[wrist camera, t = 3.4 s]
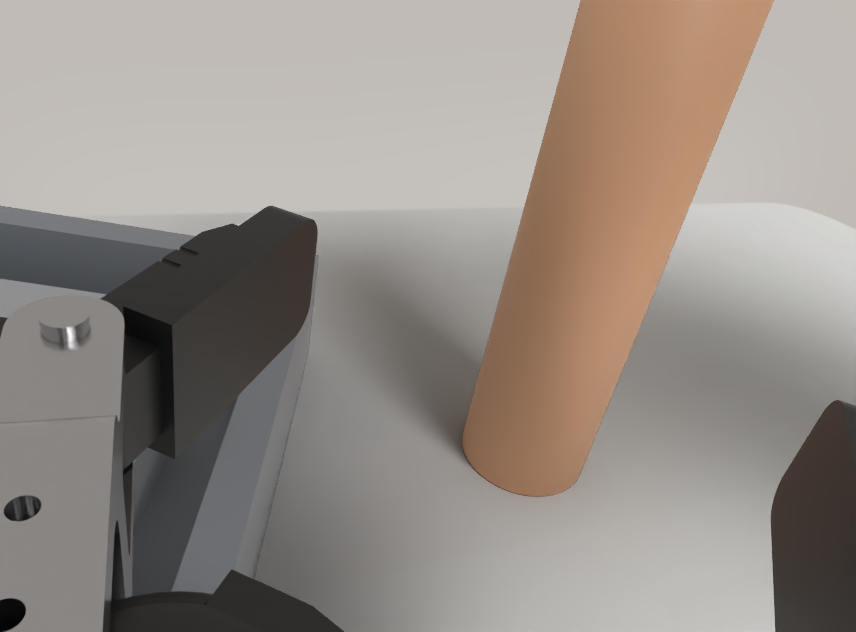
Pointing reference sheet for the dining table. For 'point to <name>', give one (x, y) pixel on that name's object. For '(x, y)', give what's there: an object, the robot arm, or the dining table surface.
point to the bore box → (211, 451)
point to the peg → (601, 225)
